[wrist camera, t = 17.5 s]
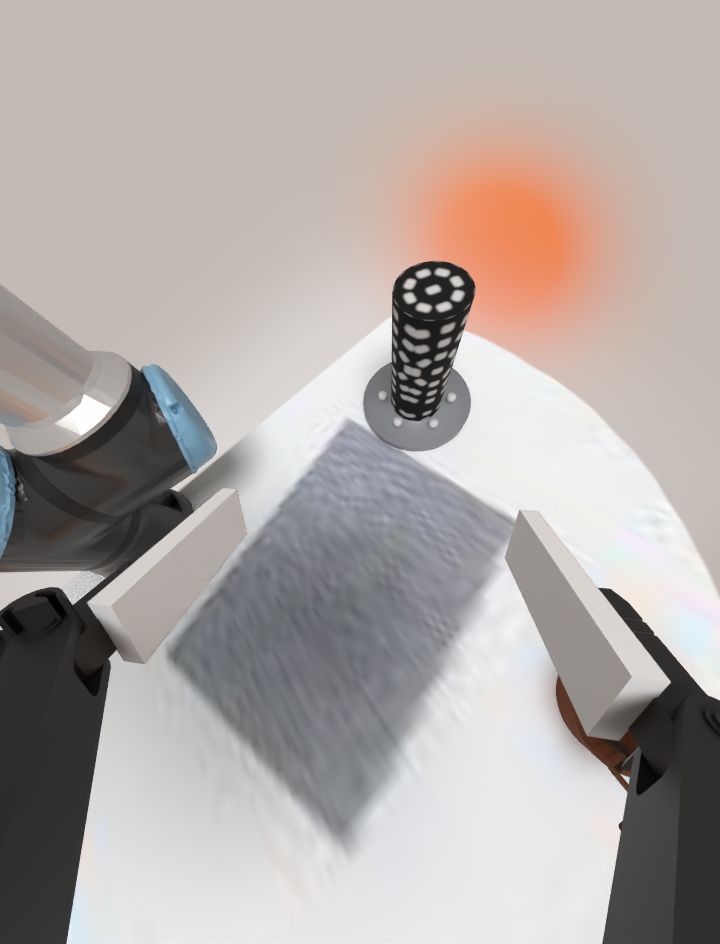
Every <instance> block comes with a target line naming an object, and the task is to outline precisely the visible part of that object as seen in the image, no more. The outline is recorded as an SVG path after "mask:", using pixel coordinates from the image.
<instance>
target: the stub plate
mask: <svg viewBox="0 0 720 944" xmlns="http://www.w3.org/2000/svg"><path fill="white" fill-rule="evenodd" d="M391 379H392V362H391V363H389V364H387V365H385V366H384V367H382V368H381V369H380V370H379V371H378V372H377V373H376V374H375V375H374V376H373V377H372V378H371V380H370V381H369V383H368V385H367V388H366V390H365V394H364V410H365V416H366V419H367V422H368V424H369V426H370V428H371V429H372V431H373V432H374V433H375V434H376V435H377V436H378V437H379V438H380V439H381V440H383V441H384V442H386V443H387V444H389V445H391V446H393V447H396V448H398V449H402V450H407V451H426V450H431V449H435V448H437V447H440V446H442V445H444V444H446V443H448V442H449V441H450V440H452V439H453V438H454V437H455V436H456V435H457V434H458V433H459V432H460V430H461V429H462V427H463V425H464V424H465V422H466V420H467V418H468V415H469V412H470V406H471V399H470V393H469V389H468V387H467V385H466V383H465V381H464V380H463V378H462V377H461V376H460V374H459V373H458V372H457V371H455V370H454V369H453V368H452V369H451V372H450V375H449V378H448V381H447V384H446V388H445V391H444V394H443V397H442V400H441V403H440V407H439V409H438V410H437V412H436V413H435V414H434V415H433V416H432V417H430V418H428V419H426V420H422V421H410V420H406V419H404V418H402V417H400V416H399V415H398V414H397V413H396V412H395V411H394V409H393V407H392V402H391Z"/></svg>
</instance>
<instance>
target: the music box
mask: <svg viewBox="0 0 720 944" xmlns="http://www.w3.org/2000/svg"><path fill="white" fill-rule="evenodd" d="M556 695H557V702H558V706H559V710H560V713H561V715H562V717H563V720H564V722H565V723H566V725H567V727H568V728H569V730H570V731H571V733H572V734H573V735H574V736H575V737H576V738H577V740H578V741H579V742H581V743H582V744H583V745H584V746H585V747H586V748H587V749H588V750H589V751H590V752H591V753H593V754H594V755H595V756H596V757H597V758H598V759H599V760H600V761H601V762H603V763H604V764H605V765H606V766H607V767H608V768H609V770H610V771H611V773H612V774H613V775H614V776H615V777H616V779H617V780H618V781H619V782H620V784H621V785H622V786H623V787H624V789H625V790H626V791H627V792H628V787H629V784H628V783H627V782H626V781H625V780H624V778H623V777H622V776H621V775H620V774H622V775H625V776H628V777H630V775H631V769H632V767H631V768H630V769H629V770H628V771H625V770H624V769H623V768H622V765H623V763H624V762H625V760H626V759H627V758H628V757H629V756H630V755H631V754H632V753H633V752H634V751H635V750H636V749H637V748H638V747H639V746H638V744H637V743H636V741H635V739H634V737H633V736H632V734H631V732H630V731H629V730H628V731H627V732H626V733H625V735H624V736H623V737H622V738H621V739H620V740H619V741H615V740H609V739H603V738H597V737H591V736H587V735H586V733H585V731H584V728H583V726H582V724H581V722H580V720H579V718H578V715H577V713H576V711H575V709H574V707H573V705H572V702H571V700H570V698H569V696H568V694H567V692H566V689H565V687H564V685H563V683H562V681H561V679H560V676H558V680H557V686H556ZM619 773H620V774H619ZM622 823H623V821H622V822H621V823H620V824H619V829H620V830H621V829H622Z"/></svg>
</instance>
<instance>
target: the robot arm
mask: <svg viewBox="0 0 720 944" xmlns="http://www.w3.org/2000/svg"><path fill="white" fill-rule="evenodd" d="M0 423H2V424H4V425H5V427H6V430H7V433H8V436H9V439H10V442H11V444H12V446H14V449H10V450H6V449H4V448H3V447H2V446H0V572H37V571H90V572H93V573H96V574H99V575H101V576H104V577H107V578H106V579H104V580H103V581H102V582H101V583H100V584H98V585H97V586H96V587H95V588H93V589H92V590H91V591H90V592H89V593H87V594H86V595H85V596H84V597H82V598H81V599H80V600H79V601H78V602H76V603H75V604H74V605H72V604H71V602H70V601H69V599H68V598H67V596H66V595H65V594H64V592H63V591H62V590H61V589H59V588H55V587H49V588H45V589H40V590H37V591H34V592H31V593H29V594H26V595H24V596H22V597H21V598H19V599H17V600H15V601H13V602H12V603H10V604H9V605H8V606H6V607H5V608H4V609H2V610H1V611H0V626H1V627H2V629H3V630H0V944H66V942H67V936H68V930H69V924H70V918H71V911H72V905H73V899H74V893H75V886H76V880H77V874H78V868H79V862H80V855H81V849H82V843H83V837H84V830H85V824H86V818H87V812H88V806H89V799H90V793H91V787H92V781H93V775H94V768H95V762H96V756H97V750H98V743H99V737H100V731H101V725H102V719H103V712H104V706H105V700H106V694H107V688H108V681H109V675H110V669H111V665H110V661H109V659H108V658H109V657H110V656H111V655H112V654H113V653H114V652H115V651H116V650H117V651H118V652H119V654H120V656H121V657H122V659H123V660H124V661H129V662H135V663H141V664H145V663H146V662H147V660H148V659H149V658H150V657H151V655H152V654H153V653H154V652H155V650H156V649H157V648H158V646H159V645H160V644H161V643H162V641H163V640H164V639H165V638H166V636H167V635H168V634H169V632H170V631H171V630H172V629H173V627H174V626H175V625H176V624H177V622H178V621H179V620H180V618H181V617H182V616H183V615H184V613H185V612H186V611H187V610H188V608H189V607H190V606H191V604H192V603H193V602H194V601H195V599H196V598H197V597H198V596H199V594H200V593H201V592H202V590H203V589H204V588H205V587H206V585H207V584H208V583H209V581H210V580H211V579H212V578H213V576H214V575H215V574H216V573H217V571H218V570H219V569H220V567H221V566H222V565H223V564H224V562H225V561H226V560H227V559H228V557H229V556H230V555H231V553H232V552H233V551H234V550H235V548H236V547H237V546H238V545H239V543H240V542H241V541H242V539H243V538H244V537H245V536H246V534H247V531H246V527H245V522H244V518H243V514H242V509H241V505H240V500H239V496H238V491H237V489H229V488H222V489H221V490H220V491H218V492H217V493H216V494H215V495H214V496H212V497H211V498H210V499H209V500H208V501H207V502H205V503H204V504H203V505H202V506H201V507H199V508H198V509H197V510H196V511H195V512H193V509H192V507H191V504H190V503H189V501H188V500H187V499H186V498H185V497H184V496H183V495H182V494H180V493H179V492H177V491H174V490H172V489H170V488H172V487H173V486H175V485H176V484H178V483H179V482H181V481H182V480H184V479H185V478H187V477H188V476H190V475H191V474H193V473H196V472H197V469H198V468H199V467H201V466H202V465H204V464H205V463H206V462H207V461H209V460H210V459H211V458H212V457H213V456H214V455H215V453H216V450H217V444H216V441H215V438H214V436H213V434H212V432H211V431H210V429H209V427H208V426H207V424H206V423H205V421H204V420H203V418H202V417H201V415H200V414H199V412H198V411H197V409H196V408H195V407H194V406H193V404H192V403H191V401H190V400H189V399H188V397H187V396H186V395H185V393H184V392H183V391H182V390H181V388H180V387H179V386H178V385H177V384H176V382H175V381H174V380H173V379H172V378H171V377H170V376H169V374H168V373H167V372H165V371H164V370H163V369H161V368H160V367H159V366H158V365H150V366H143V367H142V369H141V371H139V370H137V369H136V368H135V367H133V366H132V365H131V364H130V363H129V362H127V361H126V360H125V359H124V358H122V357H121V356H120V355H118V354H115V353H112V352H101V351H88V350H85V349H84V348H83V347H81V346H80V345H79V344H78V343H76V342H75V341H74V340H72V339H71V338H70V337H69V336H67V335H66V334H65V333H63V332H62V331H61V330H59V329H58V328H57V327H55V326H54V325H53V324H51V323H50V322H49V321H48V320H46V319H45V318H44V317H43V316H41V315H40V314H39V313H37V312H36V311H35V310H33V309H32V308H31V307H30V306H28V305H27V304H25V303H24V302H23V301H22V300H20V299H19V298H18V297H16V296H15V295H14V294H13V293H11V292H10V291H9V290H7V289H6V288H5V287H4V286H2V285H1V284H0ZM505 559H506V561H507V564H508V566H509V568H510V570H511V572H512V574H513V577H514V579H515V581H516V583H517V585H518V587H519V590H520V592H521V594H522V596H523V598H524V600H525V603H526V605H527V607H528V609H529V611H530V614H531V616H532V618H533V620H534V622H535V624H536V627H537V629H538V631H539V633H540V635H541V637H542V640H543V642H544V644H545V646H546V648H547V650H548V653H549V655H550V657H551V659H552V661H553V663H554V666H555V668H556V670H557V672H558V674H559V676H560V679H561V681H562V683H563V685H564V687H565V689H566V692H567V694H568V696H569V698H570V700H571V702H572V705H573V707H574V709H575V711H576V713H577V715H578V718H579V720H580V722H581V724H582V726H583V728H584V731H585V733H586V735H587V736H591V737H597V738H603V739H609V740H615V741H619V740H620V739H621V738H622V737H623V736H624V735H625V733H626V732H627V731H628V730H629V731H630V732H631V734H632V736H633V737H634V739H635V741H636V743H637V744H638V746H639V747H638V748H637V749H636V750H635V751H634V752H633V753H632V754H631V755H630V756H629V757H628V758H627V759H626V760H625V762H624V763H623V765H622V768H623V769H624V770H625V771H628V770H629V769H630V768H631V767H632V769H631V775H630V781H629V787H628V793H627V799H626V805H625V811H624V817H623V823H622V829H621V835H620V841H619V847H618V853H617V859H616V865H615V871H614V877H613V883H612V889H611V895H610V901H609V907H608V913H607V919H606V925H605V931H604V937H603V943H602V944H720V701H719V700H717V699H715V698H713V697H710V696H708V695H707V694H706V693H705V692H704V691H703V690H702V689H701V688H700V686H699V685H698V684H697V683H696V682H695V681H694V679H693V678H692V677H691V676H690V675H689V673H688V672H687V671H686V670H685V669H684V668H683V666H682V665H681V664H680V663H679V662H678V660H677V659H676V658H675V657H674V656H673V655H672V653H671V652H670V651H669V650H668V649H667V647H666V646H665V645H664V644H663V643H662V642H661V640H660V639H659V638H658V637H657V636H655V635H654V632H653V631H652V630H651V629H650V627H649V626H648V625H647V624H646V623H645V622H643V621H642V618H641V617H640V616H639V614H638V613H637V612H636V611H635V610H634V609H633V607H632V606H631V605H630V604H629V603H628V602H627V601H625V600H624V599H623V598H622V597H620V596H619V595H618V594H616V593H615V592H614V591H613V590H611V589H605V588H598V587H597V586H596V585H595V583H594V582H593V581H592V580H591V578H590V577H589V576H588V574H587V573H586V572H585V571H584V569H583V568H582V567H581V565H580V564H579V563H578V561H577V560H576V559H575V558H574V556H573V555H572V554H571V552H570V551H569V550H568V549H567V547H566V546H565V545H564V543H563V542H562V541H561V540H560V538H559V537H558V536H557V534H556V533H555V532H554V531H553V529H552V528H551V527H550V525H549V524H548V523H547V522H546V520H545V519H544V518H543V516H542V515H541V514H540V512H539V511H532V510H519V513H518V516H517V519H516V523H515V526H514V529H513V532H512V536H511V539H510V542H509V546H508V549H507V552H506V555H505Z"/></svg>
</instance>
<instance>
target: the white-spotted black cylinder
mask: <svg viewBox="0 0 720 944" xmlns="http://www.w3.org/2000/svg"><path fill="white" fill-rule="evenodd" d="M392 295H393V296H392V297H393V298H392V379H391V402H392V407H393V409H394V411H395V412H396V413H397V414H398V415H399V416H400V417H402V418H404V419H406V420H410V421H422V420H426V419H428V418H430V417H432V416H433V415H434V414H435V413H436V412H437V410H438V409H439V407H440V403H441V400H442V397H443V394H444V391H445V388H446V384H447V381H448V378H449V375H450V372H451V369H452V365H453V362H454V359H455V356H456V353H457V350H458V346H459V343H460V340H461V337H462V334H463V330H464V327H465V324H466V321H467V318H468V315H469V311H470V308H471V305H472V302H473V299H474V295H475V284H474V281H473V279H472V277H471V276H470V275H469V274H468V272H467V271H465V270H464V269H463V268H461V267H459V266H457V265H455V264H452V263H448V262H442V261H430V262H423V263H419V264H416V265H414V266H412V267H410V268H408V269H407V270H405V271H404V272H403V273H402V274H401V275H399V277H398V278H397V280H396V281H395V284H394V286H393V292H392Z"/></svg>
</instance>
